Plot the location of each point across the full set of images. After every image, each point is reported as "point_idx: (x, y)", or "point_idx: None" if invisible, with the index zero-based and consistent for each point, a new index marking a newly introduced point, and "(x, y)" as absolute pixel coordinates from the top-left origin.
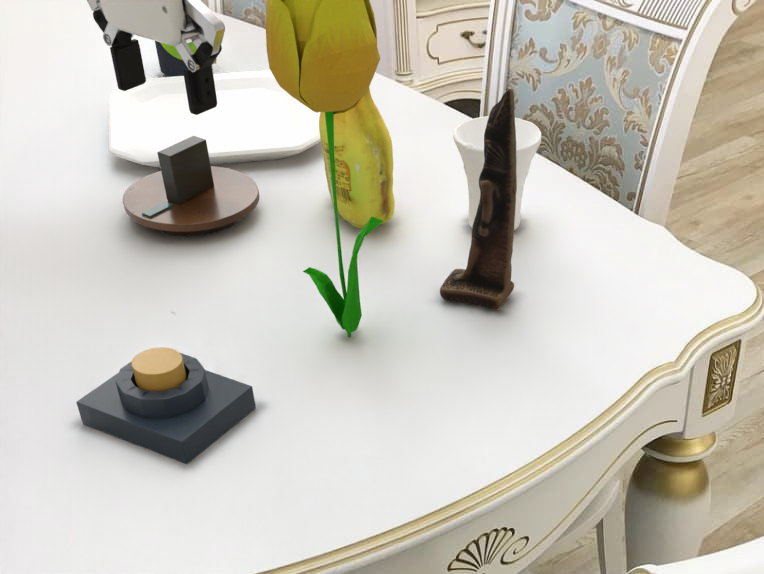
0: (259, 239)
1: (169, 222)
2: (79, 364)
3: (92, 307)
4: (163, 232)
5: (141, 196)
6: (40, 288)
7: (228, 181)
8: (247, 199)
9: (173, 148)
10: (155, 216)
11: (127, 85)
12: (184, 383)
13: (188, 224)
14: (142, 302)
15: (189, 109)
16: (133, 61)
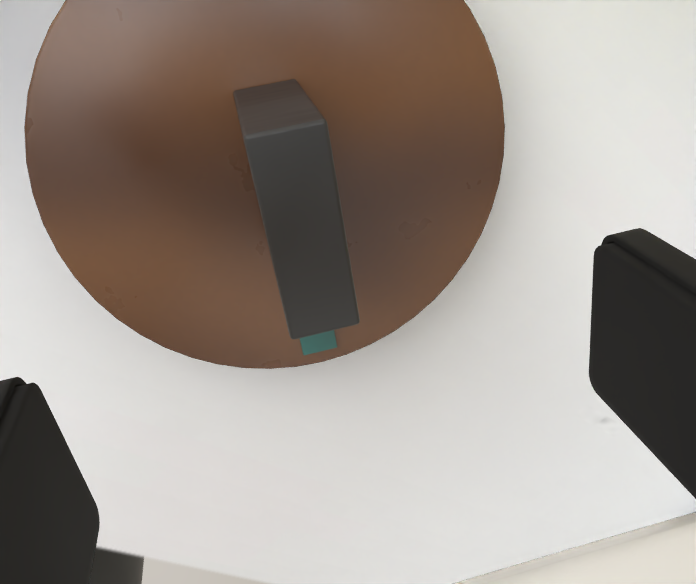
0: (539, 101)
1: (398, 320)
2: None
3: (468, 511)
4: None
5: (190, 301)
6: (335, 554)
7: (291, 3)
8: (462, 52)
9: (305, 278)
10: (340, 331)
11: (85, 508)
12: None
13: (444, 286)
14: (528, 445)
15: (599, 393)
16: (26, 549)
